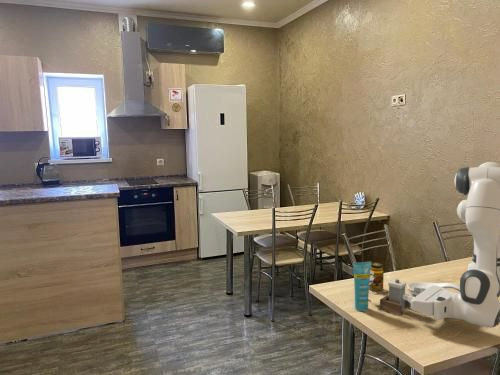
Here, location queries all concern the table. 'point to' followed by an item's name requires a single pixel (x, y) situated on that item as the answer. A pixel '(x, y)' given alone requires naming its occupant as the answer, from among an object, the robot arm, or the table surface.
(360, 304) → the tube
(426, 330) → the table surface
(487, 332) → the table surface
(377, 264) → the condiment
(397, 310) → the holder
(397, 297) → the grey block with knob
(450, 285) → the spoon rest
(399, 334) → the table surface
